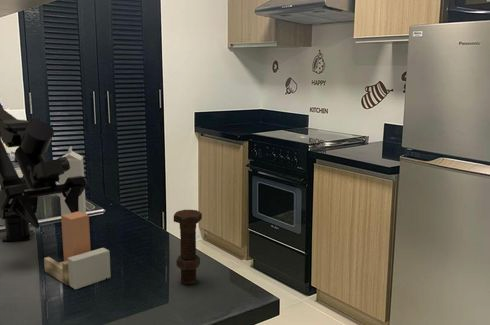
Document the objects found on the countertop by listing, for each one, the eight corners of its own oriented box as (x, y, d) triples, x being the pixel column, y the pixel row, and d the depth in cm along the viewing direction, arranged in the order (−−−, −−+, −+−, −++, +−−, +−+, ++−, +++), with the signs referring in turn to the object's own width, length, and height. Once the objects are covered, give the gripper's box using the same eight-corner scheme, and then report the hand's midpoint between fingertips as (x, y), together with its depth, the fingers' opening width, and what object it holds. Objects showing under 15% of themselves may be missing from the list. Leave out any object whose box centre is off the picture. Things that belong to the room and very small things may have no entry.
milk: (86, 219, 139) (83, 145, 135) (84, 226, 133) (80, 148, 129) (64, 220, 138) (60, 145, 134) (61, 227, 132) (56, 149, 128)
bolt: (196, 289, 96) (195, 218, 93) (172, 286, 97) (170, 216, 94) (204, 277, 101) (203, 209, 99) (181, 275, 102) (180, 208, 100)
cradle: (44, 271, 103) (43, 251, 102) (83, 259, 110) (82, 241, 109) (66, 285, 96) (65, 264, 96) (106, 272, 103) (105, 252, 102)
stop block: (69, 285, 97) (67, 257, 96) (104, 273, 103) (103, 247, 101) (75, 289, 95) (73, 261, 94) (110, 277, 101) (109, 250, 100)
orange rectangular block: (64, 269, 102) (61, 215, 99) (81, 263, 105) (78, 211, 102) (74, 274, 99) (71, 219, 97) (91, 268, 102) (88, 215, 100)
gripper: (0, 149, 99) (26, 212, 94) (82, 142, 113) (109, 196, 108) (-12, 179, 106) (11, 239, 101) (67, 169, 120) (91, 221, 114)
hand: (58, 223), depth 106 cm, fingers open, 9 cm apart
